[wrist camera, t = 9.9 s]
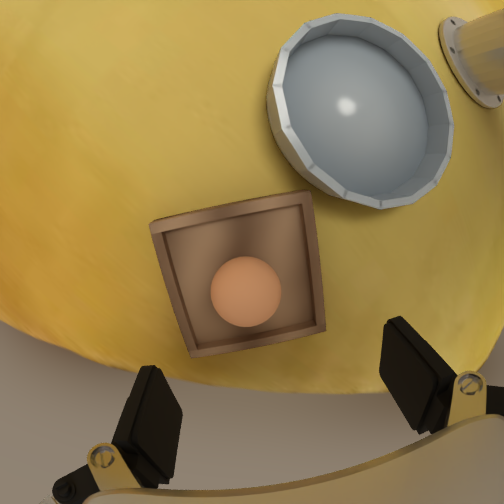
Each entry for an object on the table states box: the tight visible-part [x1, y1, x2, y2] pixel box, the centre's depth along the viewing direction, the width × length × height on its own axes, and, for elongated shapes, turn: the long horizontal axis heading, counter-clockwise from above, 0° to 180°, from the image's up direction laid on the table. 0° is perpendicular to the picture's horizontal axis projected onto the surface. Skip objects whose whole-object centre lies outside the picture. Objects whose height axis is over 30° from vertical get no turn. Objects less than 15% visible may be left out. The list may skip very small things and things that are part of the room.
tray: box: [149, 190, 326, 358], centre depth 22 cm, size 12×12×2 cm
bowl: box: [266, 13, 454, 209], centre depth 18 cm, size 16×16×4 cm
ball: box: [211, 256, 281, 327], centre depth 19 cm, size 5×5×5 cm
